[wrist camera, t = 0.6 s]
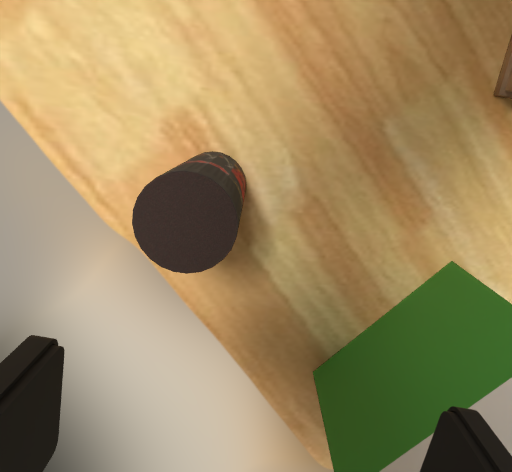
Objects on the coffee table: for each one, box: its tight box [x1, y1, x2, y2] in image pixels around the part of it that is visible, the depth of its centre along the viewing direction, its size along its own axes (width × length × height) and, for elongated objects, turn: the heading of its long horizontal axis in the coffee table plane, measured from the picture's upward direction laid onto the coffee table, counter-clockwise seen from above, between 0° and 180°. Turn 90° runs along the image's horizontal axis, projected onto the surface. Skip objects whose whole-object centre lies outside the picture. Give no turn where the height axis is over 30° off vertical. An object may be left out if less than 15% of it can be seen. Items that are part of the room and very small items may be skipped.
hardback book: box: [313, 261, 512, 472], centre depth 30 cm, size 18×7×24 cm, turn 133°
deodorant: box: [132, 152, 246, 273], centre depth 30 cm, size 6×6×15 cm
